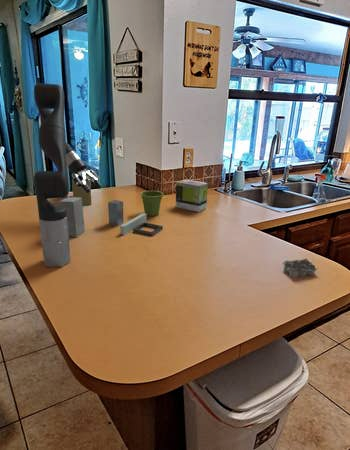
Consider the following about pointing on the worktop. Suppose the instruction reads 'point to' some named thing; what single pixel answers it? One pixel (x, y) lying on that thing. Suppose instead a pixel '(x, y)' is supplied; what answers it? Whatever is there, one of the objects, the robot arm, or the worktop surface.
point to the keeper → (137, 230)
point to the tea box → (191, 195)
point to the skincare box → (74, 215)
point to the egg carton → (299, 268)
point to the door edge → (132, 224)
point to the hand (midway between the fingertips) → (95, 189)
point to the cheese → (82, 193)
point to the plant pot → (151, 202)
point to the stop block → (115, 212)
